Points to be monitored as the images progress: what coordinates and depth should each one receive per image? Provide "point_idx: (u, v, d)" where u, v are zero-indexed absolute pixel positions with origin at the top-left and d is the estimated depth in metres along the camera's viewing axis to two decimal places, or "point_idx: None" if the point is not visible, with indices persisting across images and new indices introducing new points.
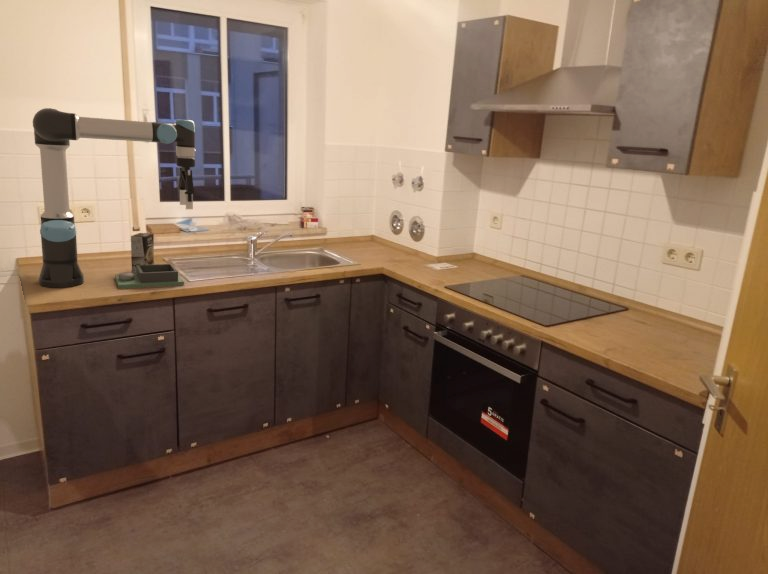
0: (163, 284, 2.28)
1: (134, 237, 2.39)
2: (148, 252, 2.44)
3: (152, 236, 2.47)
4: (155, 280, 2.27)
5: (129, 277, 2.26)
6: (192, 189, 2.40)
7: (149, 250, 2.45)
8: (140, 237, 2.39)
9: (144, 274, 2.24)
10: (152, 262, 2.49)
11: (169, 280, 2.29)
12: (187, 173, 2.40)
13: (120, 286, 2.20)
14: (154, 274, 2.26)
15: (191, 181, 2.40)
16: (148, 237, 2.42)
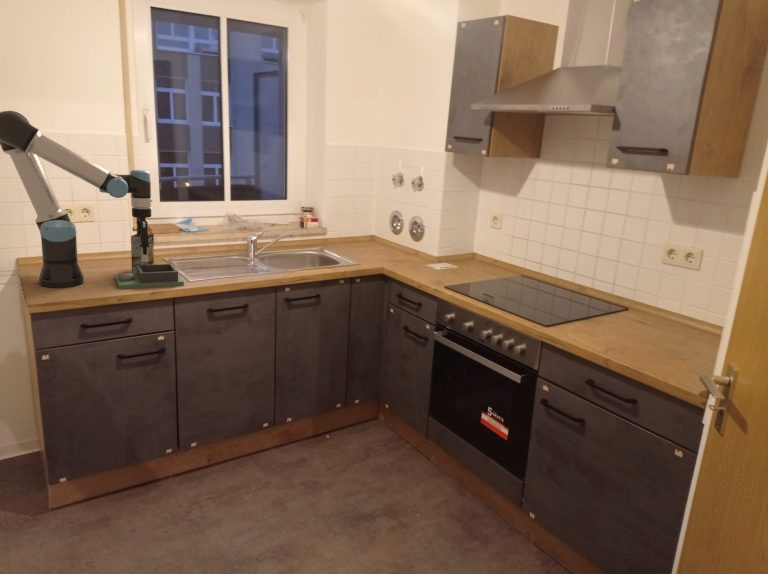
0: (163, 284, 2.28)
1: (134, 237, 2.39)
2: (148, 252, 2.44)
3: (152, 236, 2.47)
4: (155, 280, 2.27)
5: (129, 277, 2.26)
6: (147, 242, 2.37)
7: (149, 250, 2.45)
8: (140, 237, 2.39)
9: (144, 274, 2.24)
10: (152, 262, 2.49)
11: (169, 280, 2.29)
12: (142, 226, 2.36)
13: (120, 286, 2.20)
14: (154, 274, 2.26)
15: (146, 234, 2.37)
16: (148, 237, 2.42)
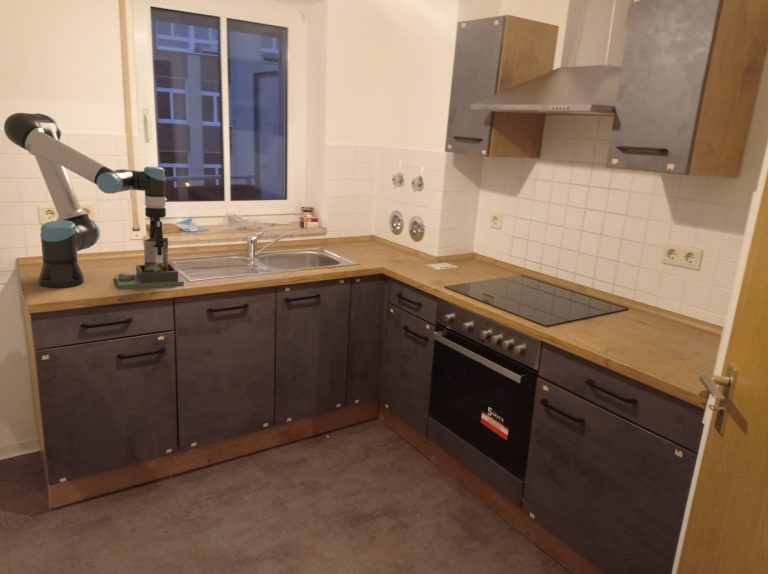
0: (163, 284, 2.28)
1: (148, 242, 2.26)
2: (163, 258, 2.30)
3: (166, 240, 2.33)
4: (155, 280, 2.27)
5: (129, 277, 2.26)
6: (162, 242, 2.22)
7: (163, 256, 2.31)
8: (154, 242, 2.25)
9: (144, 274, 2.24)
10: (166, 268, 2.35)
11: (169, 280, 2.29)
12: (156, 225, 2.22)
13: (120, 286, 2.20)
14: (154, 274, 2.26)
15: (161, 233, 2.22)
16: None
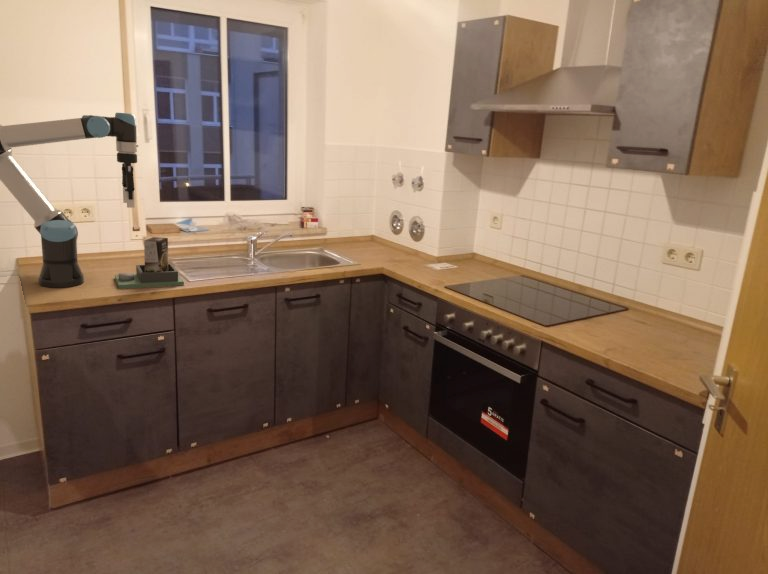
0: (163, 284, 2.28)
1: (148, 242, 2.26)
2: (163, 258, 2.30)
3: (166, 240, 2.33)
4: (155, 280, 2.27)
5: (129, 277, 2.26)
6: (132, 186, 2.27)
7: (163, 256, 2.31)
8: (154, 242, 2.25)
9: (144, 274, 2.24)
10: (166, 268, 2.35)
11: (169, 280, 2.29)
12: (127, 169, 2.27)
13: (120, 286, 2.20)
14: (154, 274, 2.26)
15: (131, 178, 2.27)
16: (162, 242, 2.29)
